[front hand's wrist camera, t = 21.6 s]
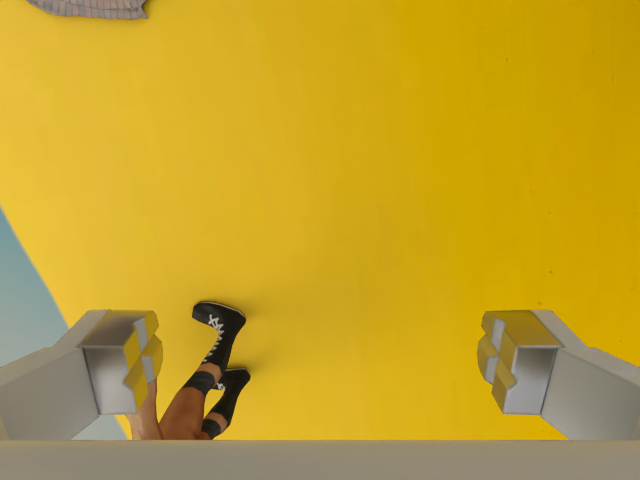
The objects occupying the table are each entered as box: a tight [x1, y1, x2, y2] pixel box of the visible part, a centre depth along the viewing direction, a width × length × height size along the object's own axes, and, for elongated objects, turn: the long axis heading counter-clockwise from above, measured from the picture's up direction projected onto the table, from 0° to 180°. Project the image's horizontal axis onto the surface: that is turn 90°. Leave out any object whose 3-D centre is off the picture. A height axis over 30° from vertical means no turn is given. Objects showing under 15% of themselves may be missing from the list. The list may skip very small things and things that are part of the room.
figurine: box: [125, 302, 251, 440], centre depth 34 cm, size 24×6×30 cm, turn 0°
